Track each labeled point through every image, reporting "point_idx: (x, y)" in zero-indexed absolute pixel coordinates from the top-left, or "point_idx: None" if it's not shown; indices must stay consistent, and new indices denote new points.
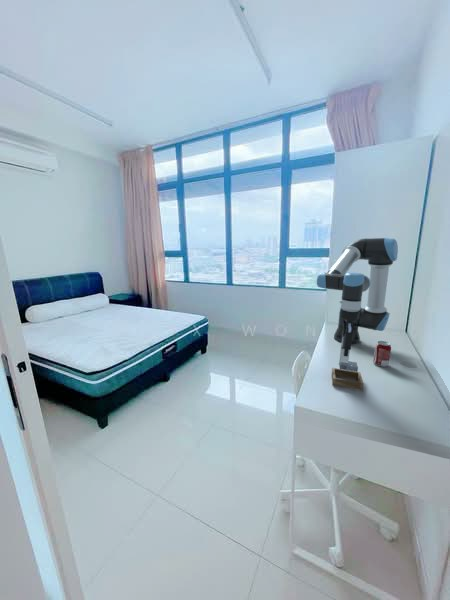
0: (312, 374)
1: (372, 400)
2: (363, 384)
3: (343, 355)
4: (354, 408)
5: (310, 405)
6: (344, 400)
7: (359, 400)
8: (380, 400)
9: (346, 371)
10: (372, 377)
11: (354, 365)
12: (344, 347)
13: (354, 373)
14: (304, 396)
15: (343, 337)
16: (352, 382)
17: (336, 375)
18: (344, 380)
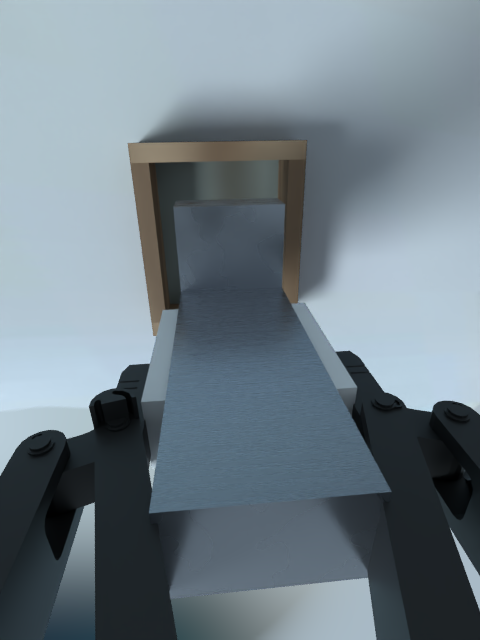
0: None
1: (385, 90)
2: (304, 140)
3: None
4: (474, 208)
5: (470, 382)
6: (413, 252)
7: (400, 173)
8: (375, 31)
9: (158, 246)
10: (53, 22)
11: (252, 231)
12: (462, 481)
13: (153, 188)
14: (412, 407)
15: (267, 581)
16: (301, 215)
17: (169, 290)
18: (298, 265)
